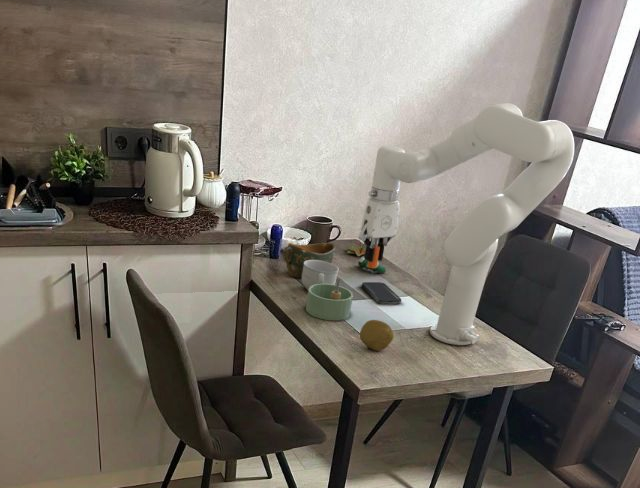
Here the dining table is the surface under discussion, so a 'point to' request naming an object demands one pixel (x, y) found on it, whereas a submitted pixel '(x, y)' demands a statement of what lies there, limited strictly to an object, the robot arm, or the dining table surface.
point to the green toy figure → (379, 268)
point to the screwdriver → (376, 255)
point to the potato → (376, 334)
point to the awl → (336, 292)
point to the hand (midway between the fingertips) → (373, 259)
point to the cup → (306, 255)
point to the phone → (381, 293)
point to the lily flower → (357, 249)
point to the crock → (328, 302)
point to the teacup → (318, 273)
